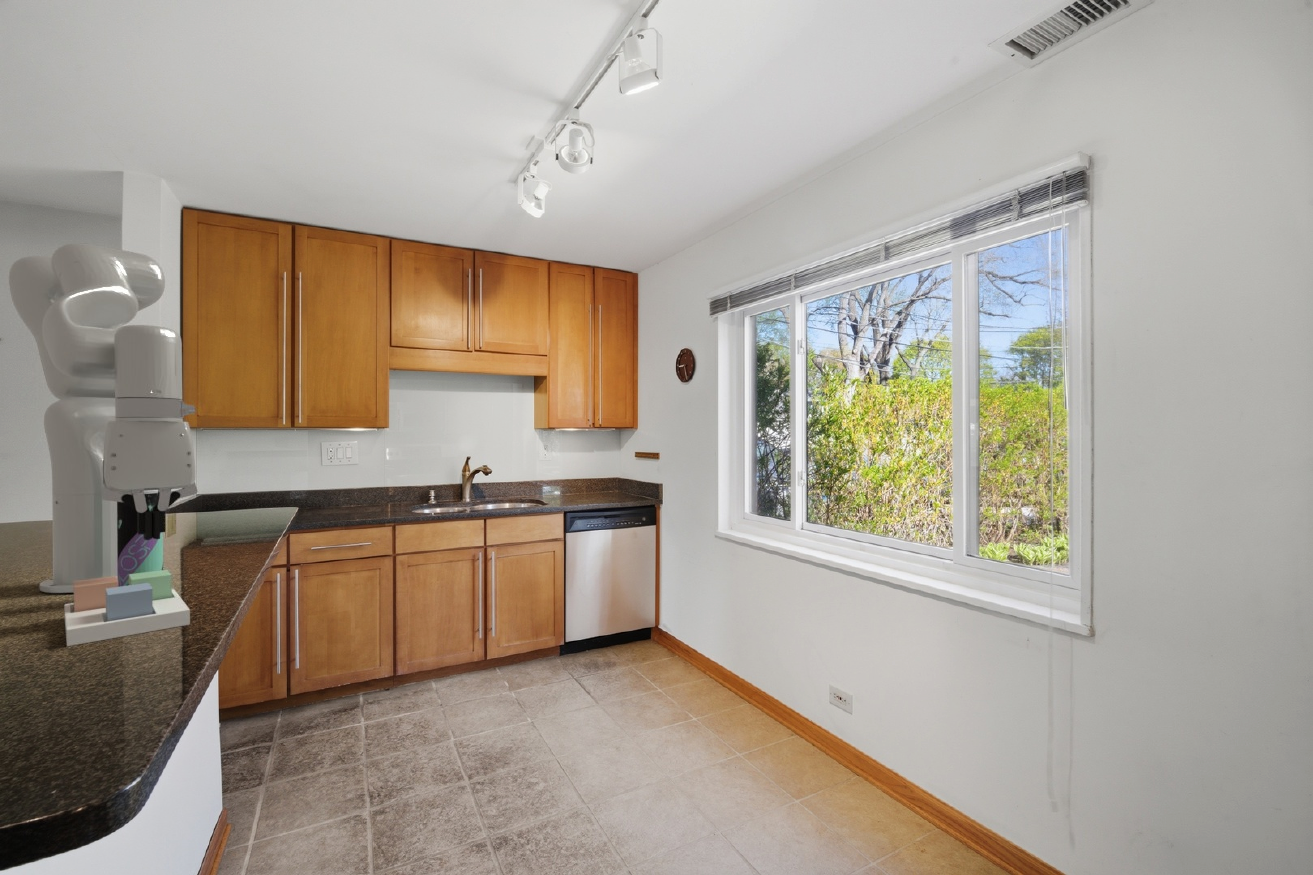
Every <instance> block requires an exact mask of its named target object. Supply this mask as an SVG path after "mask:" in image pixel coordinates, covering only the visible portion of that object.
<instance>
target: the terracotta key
mask: <svg viewBox="0 0 1313 875" xmlns="http://www.w3.org/2000/svg"><path fill="white" fill-rule="evenodd" d="M113 587H118V580H117V577H116V576H112V577H104V578H96V579H88V580H80V581H74V592H73V603H74V612H81V611H88V610H95V609H101V608H106V588H113Z"/></svg>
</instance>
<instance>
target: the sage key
mask: <svg viewBox="0 0 1313 875" xmlns="http://www.w3.org/2000/svg"><path fill="white" fill-rule="evenodd" d="M143 583H149V584H150V586H151V587H152V601H154V600H161V599H167V598H172V589H173V588H172V586H173V585H172V584H173V583H172V573H171V572H170V571H169V570H168V569H163V570H160V571H152V572H144V573H136V574H129V585H136V584H143Z"/></svg>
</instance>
